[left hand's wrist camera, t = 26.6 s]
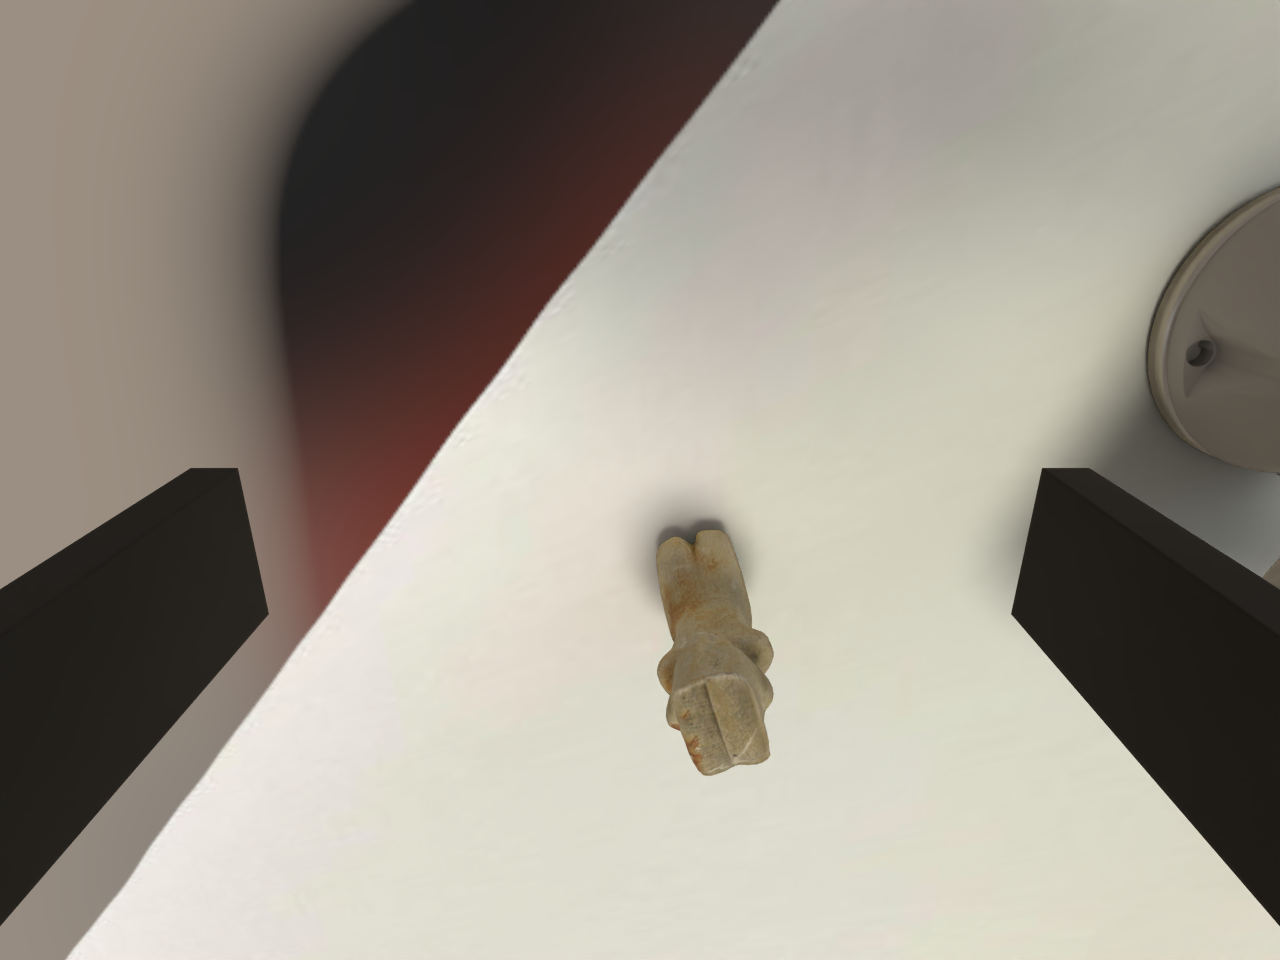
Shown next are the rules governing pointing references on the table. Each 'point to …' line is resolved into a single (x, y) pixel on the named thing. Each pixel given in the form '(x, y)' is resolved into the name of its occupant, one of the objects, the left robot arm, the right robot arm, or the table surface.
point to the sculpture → (713, 654)
